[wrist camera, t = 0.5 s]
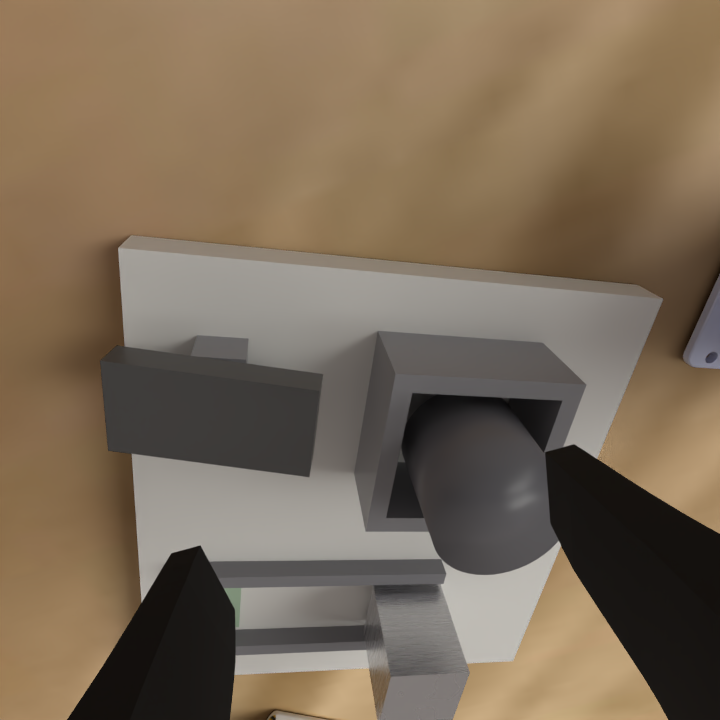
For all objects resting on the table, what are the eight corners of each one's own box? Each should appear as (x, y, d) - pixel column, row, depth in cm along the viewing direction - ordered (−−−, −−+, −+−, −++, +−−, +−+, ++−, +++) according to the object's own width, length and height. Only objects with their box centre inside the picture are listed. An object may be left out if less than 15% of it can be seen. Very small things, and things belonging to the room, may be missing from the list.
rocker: (323, 374, 15) (319, 390, 14) (313, 457, 17) (309, 477, 16) (116, 345, 15) (99, 360, 14) (123, 431, 16) (108, 450, 16)
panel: (637, 284, 20) (727, 334, 16) (502, 634, 29) (538, 722, 25) (131, 235, 16) (84, 281, 12) (153, 648, 25) (130, 752, 21)
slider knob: (440, 583, 23) (469, 672, 19) (426, 628, 24) (452, 720, 21) (373, 584, 22) (390, 676, 19) (363, 630, 24) (378, 725, 20)
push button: (529, 389, 17) (592, 466, 14) (498, 484, 19) (548, 574, 16) (413, 383, 17) (449, 462, 13) (391, 482, 18) (419, 576, 15)
